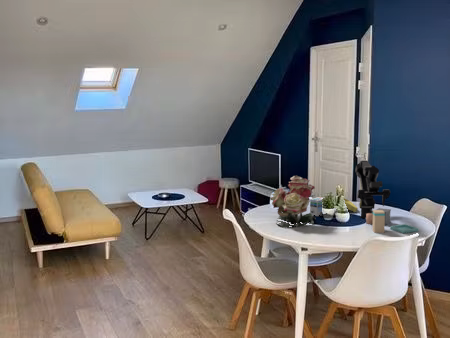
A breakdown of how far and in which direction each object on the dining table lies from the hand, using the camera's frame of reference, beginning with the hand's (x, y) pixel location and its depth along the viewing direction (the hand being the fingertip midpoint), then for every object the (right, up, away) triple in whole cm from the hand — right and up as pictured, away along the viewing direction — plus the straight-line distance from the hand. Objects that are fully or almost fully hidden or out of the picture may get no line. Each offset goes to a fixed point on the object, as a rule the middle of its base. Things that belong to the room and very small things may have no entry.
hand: (375, 205), depth 297 cm
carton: (0, -14, -6) cm, 16 cm away
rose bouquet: (-46, -12, +17) cm, 50 cm away
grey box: (+8, -12, +12) cm, 19 cm away
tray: (+15, -14, -5) cm, 21 cm away
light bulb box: (-26, -9, +39) cm, 48 cm away
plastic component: (-5, -7, +51) cm, 52 cm away
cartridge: (0, -12, +12) cm, 17 cm away
